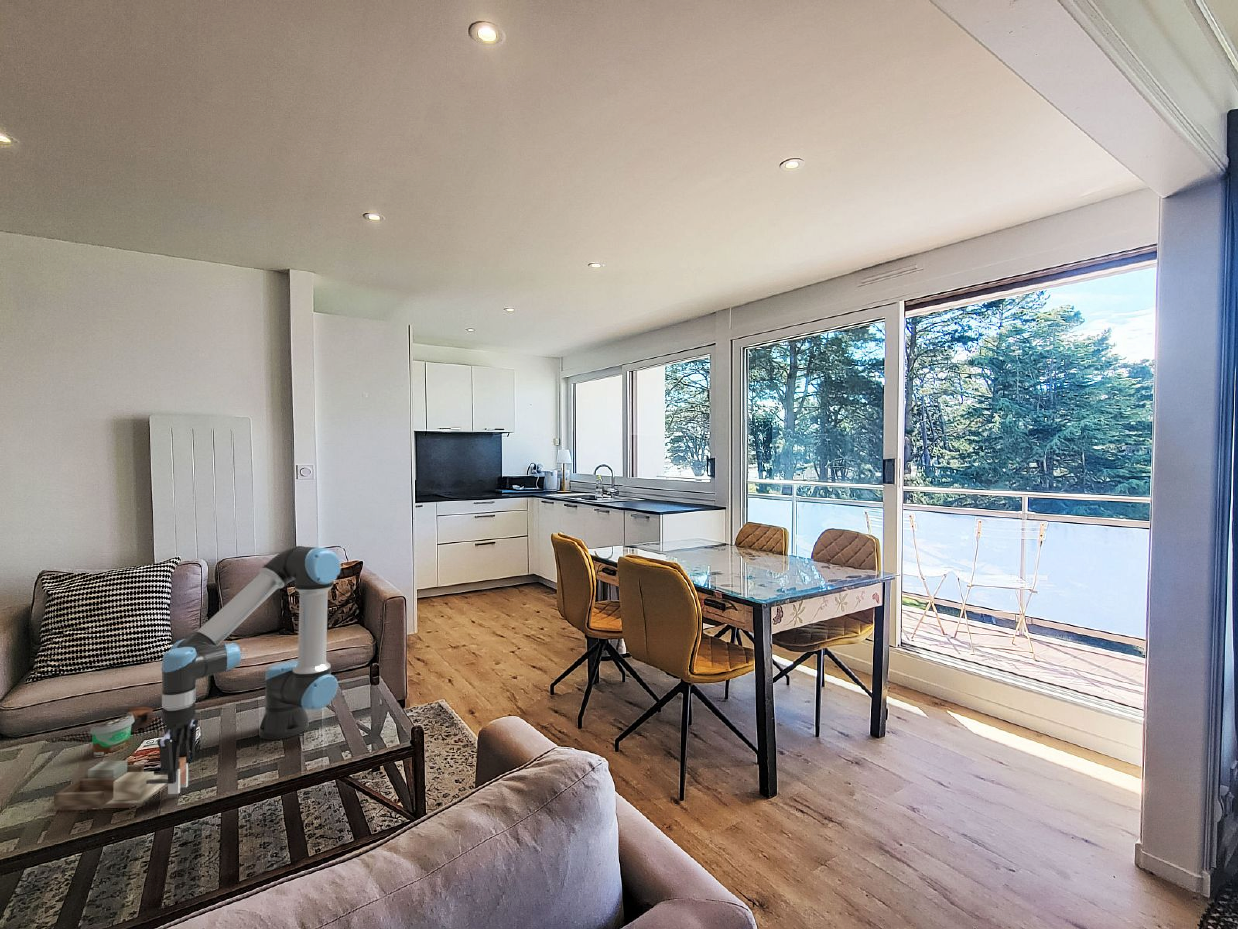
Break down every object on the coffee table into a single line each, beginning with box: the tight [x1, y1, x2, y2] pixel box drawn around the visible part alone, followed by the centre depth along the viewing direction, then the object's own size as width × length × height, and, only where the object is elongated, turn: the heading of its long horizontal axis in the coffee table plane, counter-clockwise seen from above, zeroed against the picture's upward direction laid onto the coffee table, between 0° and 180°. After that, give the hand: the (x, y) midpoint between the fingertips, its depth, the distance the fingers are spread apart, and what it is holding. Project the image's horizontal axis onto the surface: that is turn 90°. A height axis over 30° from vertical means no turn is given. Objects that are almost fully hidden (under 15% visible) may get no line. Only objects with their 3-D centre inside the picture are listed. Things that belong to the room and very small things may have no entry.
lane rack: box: [53, 760, 168, 811], centre depth 166 cm, size 22×15×6 cm
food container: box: [89, 712, 134, 756], centre depth 190 cm, size 12×6×10 cm, turn 168°
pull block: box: [113, 757, 186, 800], centre depth 163 cm, size 16×5×10 cm, turn 93°
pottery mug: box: [122, 706, 155, 733], centre depth 207 cm, size 12×10×8 cm
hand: (178, 790), depth 163 cm, fingers closed on pull block, 2 cm apart
